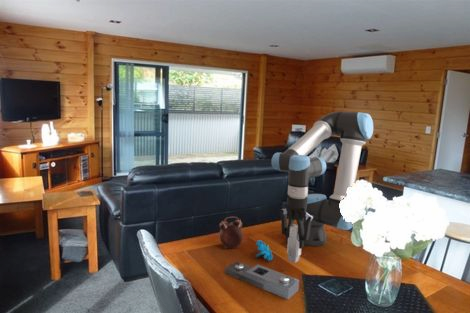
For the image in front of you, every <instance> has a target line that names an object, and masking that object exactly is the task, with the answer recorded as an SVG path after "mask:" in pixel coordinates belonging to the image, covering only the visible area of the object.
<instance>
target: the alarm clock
mask: <svg viewBox="0 0 470 313" xmlns="http://www.w3.org/2000/svg"><path fill="white" fill-rule="evenodd" d="M229 218H230V219H231V218H235V220H234V221H230V222H228V221H227V219H229ZM218 227H219V229H220V230H219V233H218V234H219V236H218V237H219V240H220V242H221V244H222V247H223V248H224V249H227V248H228V249H233V248H237V249H238V248H239V245H240V244H241V243H242V242H243V239H244V233H243V230H242V228H243V222H242V221H241V218H238V217H237V216H234V215H233V216H228V217H225V218H224V220H221V222H220V223H219V226H218Z"/></svg>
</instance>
